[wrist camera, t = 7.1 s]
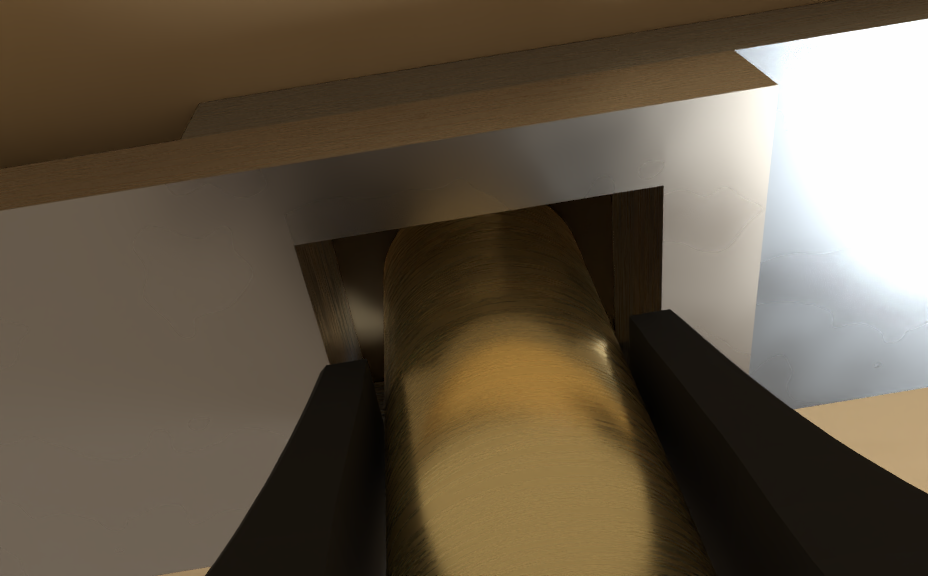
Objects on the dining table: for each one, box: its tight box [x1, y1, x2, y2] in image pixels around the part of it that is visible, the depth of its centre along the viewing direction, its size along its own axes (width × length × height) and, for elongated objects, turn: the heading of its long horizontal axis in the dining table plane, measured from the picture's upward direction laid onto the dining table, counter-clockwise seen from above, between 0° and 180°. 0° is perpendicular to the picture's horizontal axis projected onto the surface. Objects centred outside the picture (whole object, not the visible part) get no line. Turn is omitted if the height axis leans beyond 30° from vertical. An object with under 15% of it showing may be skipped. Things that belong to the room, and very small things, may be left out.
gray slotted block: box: [0, 0, 928, 576], centre depth 13 cm, size 24×8×3 cm, turn 97°
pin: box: [383, 205, 717, 576], centre depth 11 cm, size 4×4×8 cm
